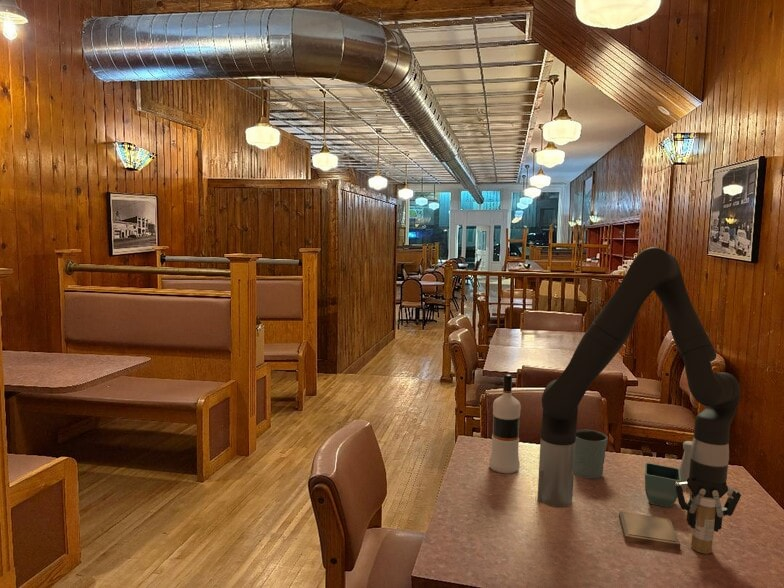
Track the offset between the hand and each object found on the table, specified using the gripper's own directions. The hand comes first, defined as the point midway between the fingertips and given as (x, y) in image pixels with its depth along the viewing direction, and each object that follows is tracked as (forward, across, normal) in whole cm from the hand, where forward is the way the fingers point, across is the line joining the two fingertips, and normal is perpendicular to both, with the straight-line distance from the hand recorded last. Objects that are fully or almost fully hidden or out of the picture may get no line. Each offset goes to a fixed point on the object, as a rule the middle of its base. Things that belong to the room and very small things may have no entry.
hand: (703, 527), depth 130 cm
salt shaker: (+5, -5, -36) cm, 37 cm away
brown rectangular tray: (+5, +11, -4) cm, 13 cm away
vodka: (+5, +48, -31) cm, 57 cm away
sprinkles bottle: (+5, 0, 0) cm, 5 cm away
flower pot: (+6, +5, -22) cm, 23 cm away
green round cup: (+6, +23, -36) cm, 43 cm away
